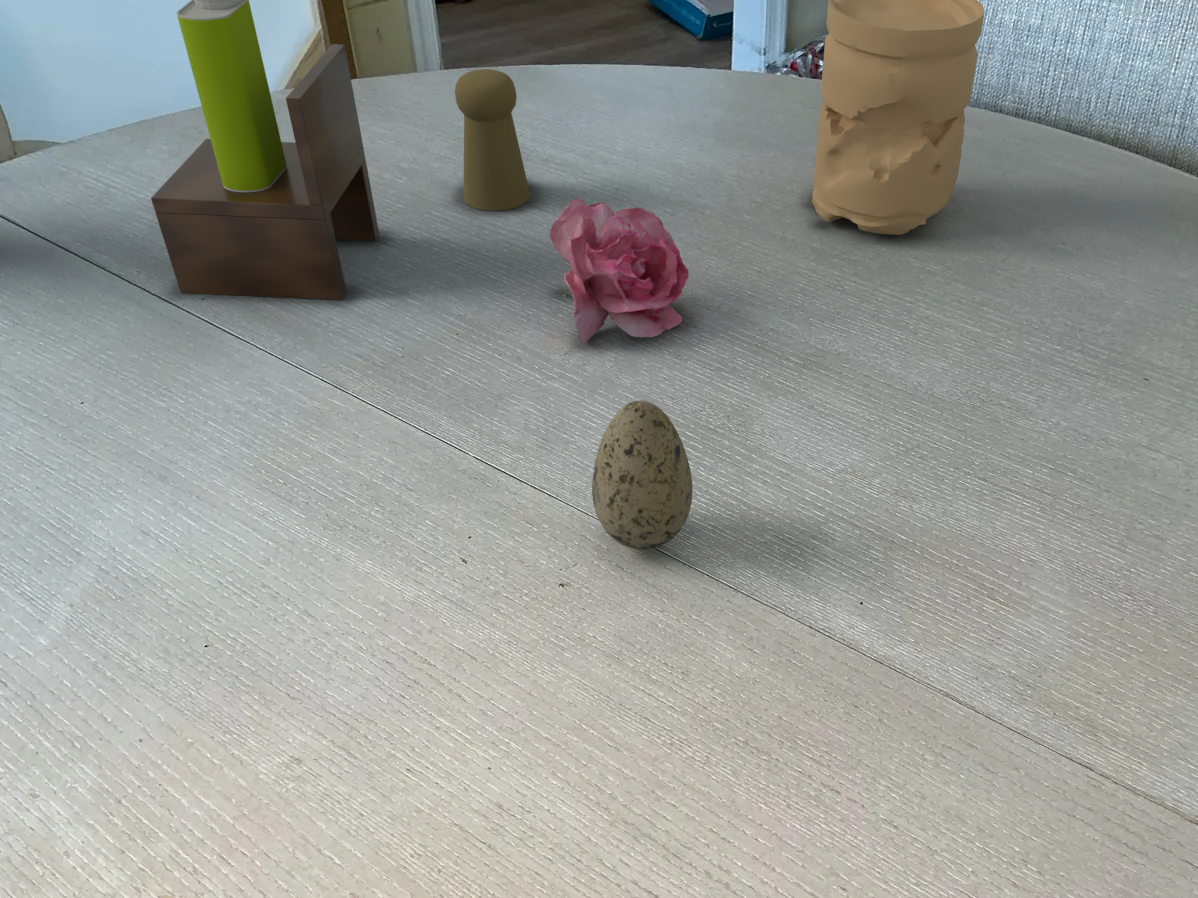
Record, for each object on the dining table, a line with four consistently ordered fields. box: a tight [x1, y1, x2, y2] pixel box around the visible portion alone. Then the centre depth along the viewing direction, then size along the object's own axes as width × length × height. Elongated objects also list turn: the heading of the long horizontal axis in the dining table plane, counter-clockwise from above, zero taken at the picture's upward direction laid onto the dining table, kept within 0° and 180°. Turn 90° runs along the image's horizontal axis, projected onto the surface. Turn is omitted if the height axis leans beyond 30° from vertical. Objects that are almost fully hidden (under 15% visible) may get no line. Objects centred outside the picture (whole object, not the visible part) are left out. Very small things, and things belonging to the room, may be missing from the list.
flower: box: [548, 197, 690, 344], centre depth 90 cm, size 11×10×10 cm
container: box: [811, 0, 985, 236], centre depth 101 cm, size 13×13×18 cm
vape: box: [176, 0, 287, 192], centre depth 85 cm, size 4×6×20 cm, turn 176°
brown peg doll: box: [454, 68, 531, 212], centre depth 104 cm, size 6×6×11 cm
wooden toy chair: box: [150, 43, 380, 301], centre depth 92 cm, size 13×11×16 cm
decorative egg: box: [591, 400, 693, 550], centre depth 69 cm, size 6×6×10 cm
